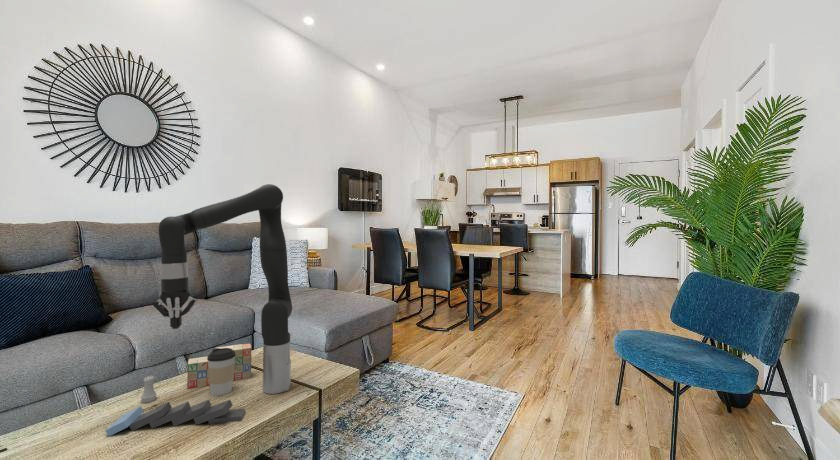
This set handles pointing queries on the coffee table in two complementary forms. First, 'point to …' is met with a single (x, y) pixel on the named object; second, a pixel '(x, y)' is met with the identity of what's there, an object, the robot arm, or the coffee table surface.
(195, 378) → the stack of blocks
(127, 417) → the tile
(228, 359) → the coffee cup
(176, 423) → the domino
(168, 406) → the domino
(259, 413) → the coffee table surface
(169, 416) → the domino
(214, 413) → the domino
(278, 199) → the robot arm
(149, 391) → the rook chess piece
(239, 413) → the domino
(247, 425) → the coffee table surface
